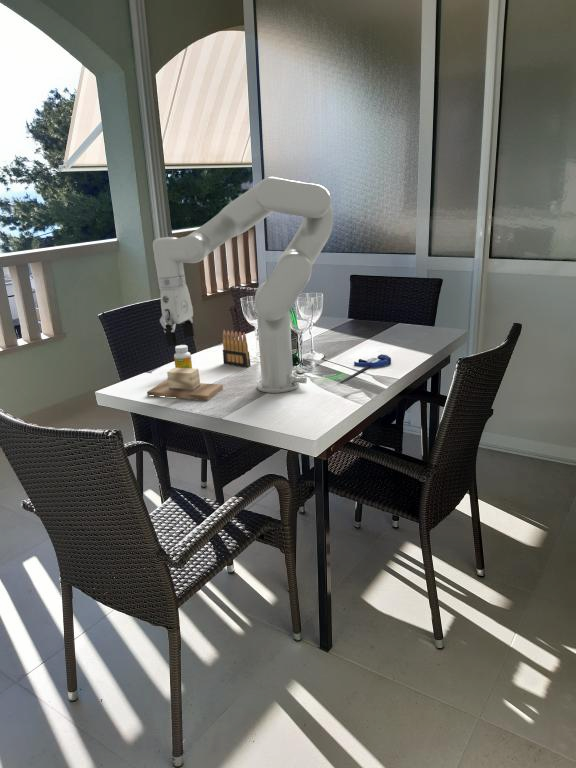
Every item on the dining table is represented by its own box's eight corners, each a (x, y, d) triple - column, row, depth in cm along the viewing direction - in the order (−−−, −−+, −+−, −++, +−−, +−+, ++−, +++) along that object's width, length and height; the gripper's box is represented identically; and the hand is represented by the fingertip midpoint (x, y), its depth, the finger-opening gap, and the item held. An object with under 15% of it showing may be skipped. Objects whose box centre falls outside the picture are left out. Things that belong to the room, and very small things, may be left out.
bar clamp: (368, 351, 204) (394, 355, 198) (368, 358, 205) (394, 362, 199) (313, 383, 180) (341, 388, 174) (313, 390, 181) (342, 396, 175)
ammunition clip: (223, 363, 209) (220, 329, 205) (227, 362, 210) (223, 328, 206) (247, 367, 202) (244, 332, 199) (250, 366, 204) (247, 331, 200)
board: (222, 389, 183) (222, 384, 182) (207, 400, 174) (207, 395, 174) (164, 385, 190) (164, 381, 189) (147, 396, 181) (147, 391, 180)
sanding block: (200, 386, 182) (198, 368, 180) (193, 391, 178) (191, 373, 176) (176, 384, 185) (174, 367, 183) (169, 389, 181) (167, 372, 179)
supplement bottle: (177, 378, 196) (173, 349, 193) (175, 373, 201) (172, 345, 198) (193, 376, 197) (190, 347, 194) (191, 371, 202) (188, 343, 199)
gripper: (168, 287, 162) (177, 349, 168) (198, 276, 178) (206, 333, 183) (144, 288, 165) (154, 349, 170) (175, 277, 180) (184, 333, 186)
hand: (181, 340), depth 177 cm, fingers open, 9 cm apart
